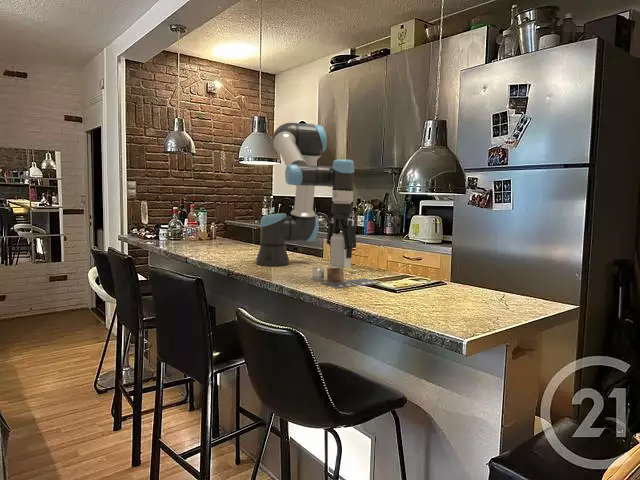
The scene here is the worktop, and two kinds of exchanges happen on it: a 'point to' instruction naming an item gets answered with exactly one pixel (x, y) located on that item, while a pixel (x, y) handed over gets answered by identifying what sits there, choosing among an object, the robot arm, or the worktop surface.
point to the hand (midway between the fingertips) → (340, 265)
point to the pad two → (339, 284)
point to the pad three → (363, 282)
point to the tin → (318, 274)
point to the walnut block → (335, 274)
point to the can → (337, 250)
